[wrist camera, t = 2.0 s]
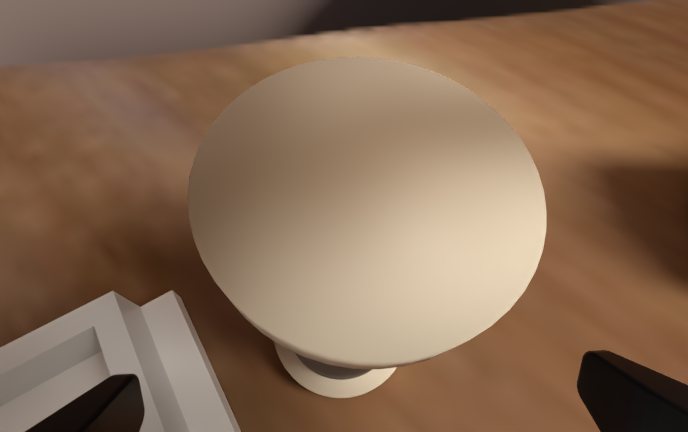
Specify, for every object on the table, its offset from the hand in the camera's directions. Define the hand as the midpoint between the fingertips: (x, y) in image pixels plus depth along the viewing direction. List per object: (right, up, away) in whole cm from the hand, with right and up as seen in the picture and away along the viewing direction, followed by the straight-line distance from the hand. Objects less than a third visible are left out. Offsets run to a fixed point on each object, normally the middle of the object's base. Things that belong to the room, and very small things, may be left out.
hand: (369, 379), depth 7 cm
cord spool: (-1, -2, +11) cm, 11 cm away
